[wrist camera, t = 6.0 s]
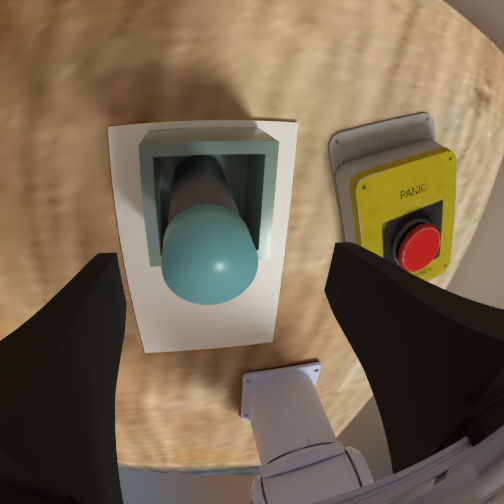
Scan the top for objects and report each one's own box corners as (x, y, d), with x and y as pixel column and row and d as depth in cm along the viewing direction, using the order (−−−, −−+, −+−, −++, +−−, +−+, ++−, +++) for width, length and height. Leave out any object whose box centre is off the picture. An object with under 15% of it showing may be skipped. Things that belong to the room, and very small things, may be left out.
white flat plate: (272, 340, 27) (272, 341, 27) (145, 351, 25) (145, 352, 24) (296, 122, 18) (298, 122, 17) (108, 126, 15) (107, 127, 15)
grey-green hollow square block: (251, 222, 20) (269, 259, 17) (155, 227, 19) (150, 266, 15) (257, 127, 17) (279, 141, 14) (149, 129, 16) (138, 145, 12)
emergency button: (370, 334, 23) (355, 150, 15) (348, 300, 27) (321, 134, 19) (455, 290, 24) (469, 121, 15) (429, 263, 27) (427, 109, 19)
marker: (226, 203, 19) (256, 300, 11) (173, 206, 18) (167, 308, 11) (226, 152, 17) (260, 220, 10) (169, 155, 17) (155, 227, 9)
